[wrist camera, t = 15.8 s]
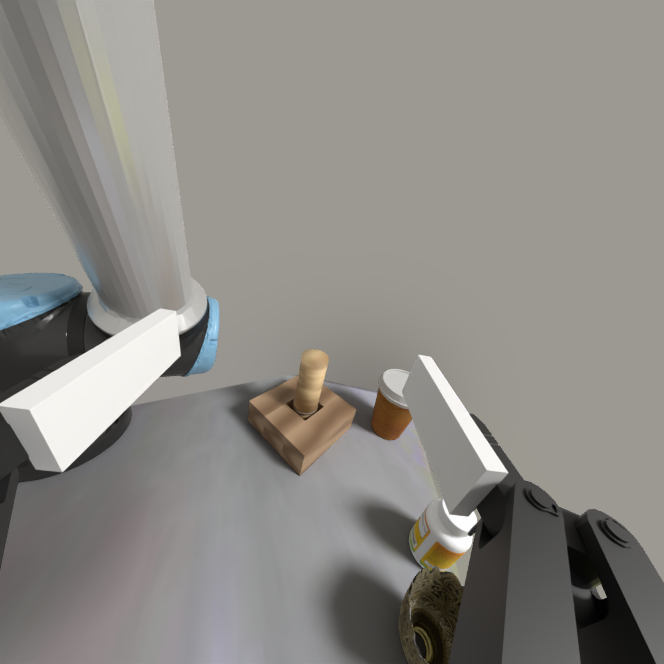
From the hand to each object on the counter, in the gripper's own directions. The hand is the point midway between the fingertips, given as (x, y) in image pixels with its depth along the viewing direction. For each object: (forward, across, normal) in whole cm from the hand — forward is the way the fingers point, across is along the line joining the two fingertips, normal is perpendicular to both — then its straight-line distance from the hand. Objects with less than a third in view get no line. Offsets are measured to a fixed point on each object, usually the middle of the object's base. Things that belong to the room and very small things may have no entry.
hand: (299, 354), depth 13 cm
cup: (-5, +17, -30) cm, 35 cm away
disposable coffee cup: (+23, +20, -30) cm, 43 cm away
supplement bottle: (+4, +21, -30) cm, 37 cm away
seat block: (+21, +2, -30) cm, 37 cm away
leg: (+21, +2, -30) cm, 37 cm away
